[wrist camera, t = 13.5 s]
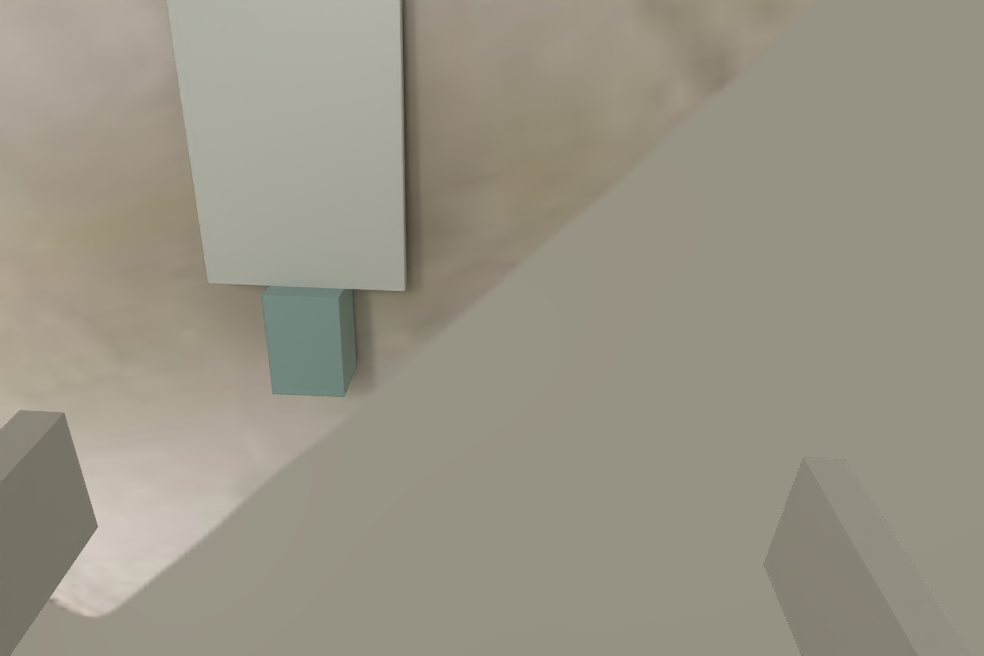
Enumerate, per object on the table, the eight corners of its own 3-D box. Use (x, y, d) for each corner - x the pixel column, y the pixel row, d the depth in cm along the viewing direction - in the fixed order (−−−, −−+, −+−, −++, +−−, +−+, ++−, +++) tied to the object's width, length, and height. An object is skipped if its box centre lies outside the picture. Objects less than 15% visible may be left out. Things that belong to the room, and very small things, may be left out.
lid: (180, -52, 33) (144, -58, 29) (405, -42, 33) (395, -47, 29) (236, 361, 42) (213, 391, 39) (410, 368, 42) (403, 399, 39)
